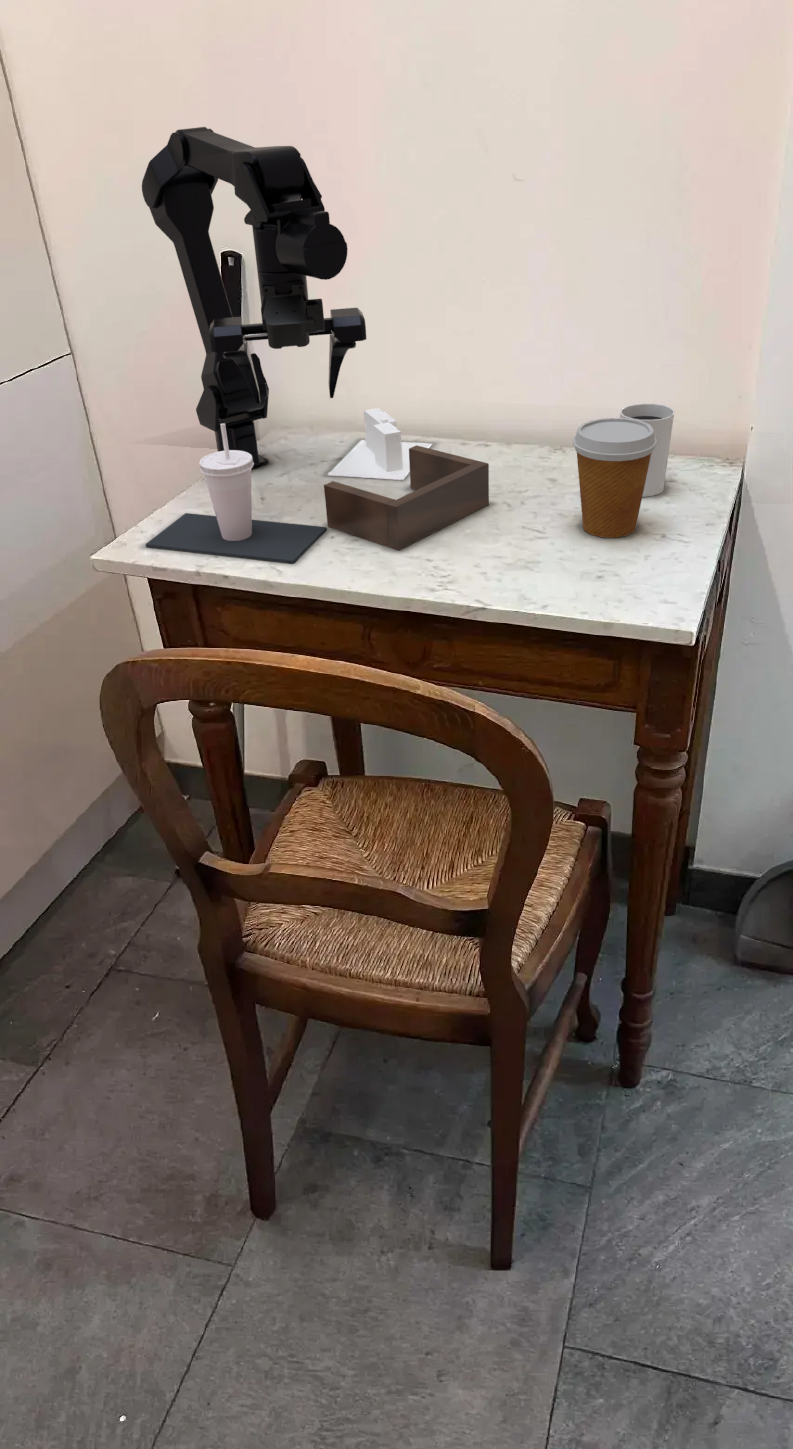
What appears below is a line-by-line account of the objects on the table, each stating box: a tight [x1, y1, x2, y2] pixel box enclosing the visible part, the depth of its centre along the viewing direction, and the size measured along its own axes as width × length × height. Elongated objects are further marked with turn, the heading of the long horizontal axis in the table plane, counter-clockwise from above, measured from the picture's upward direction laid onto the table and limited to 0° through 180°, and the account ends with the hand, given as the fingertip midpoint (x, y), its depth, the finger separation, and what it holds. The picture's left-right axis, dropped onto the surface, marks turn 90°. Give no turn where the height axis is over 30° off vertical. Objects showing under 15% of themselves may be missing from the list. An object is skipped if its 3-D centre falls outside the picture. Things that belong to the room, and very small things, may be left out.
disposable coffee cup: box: [572, 417, 657, 539], centre depth 125 cm, size 10×10×12 cm
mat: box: [145, 512, 328, 564], centre depth 131 cm, size 20×10×1 cm, turn 70°
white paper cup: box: [619, 403, 675, 498], centre depth 135 cm, size 7×7×10 cm
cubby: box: [323, 445, 490, 551], centre depth 133 cm, size 12×17×6 cm
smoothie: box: [199, 423, 254, 541], centre depth 127 cm, size 6×6×14 cm
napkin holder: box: [327, 407, 433, 481], centre depth 151 cm, size 15×11×6 cm
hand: (295, 400), depth 134 cm, fingers open, 9 cm apart
